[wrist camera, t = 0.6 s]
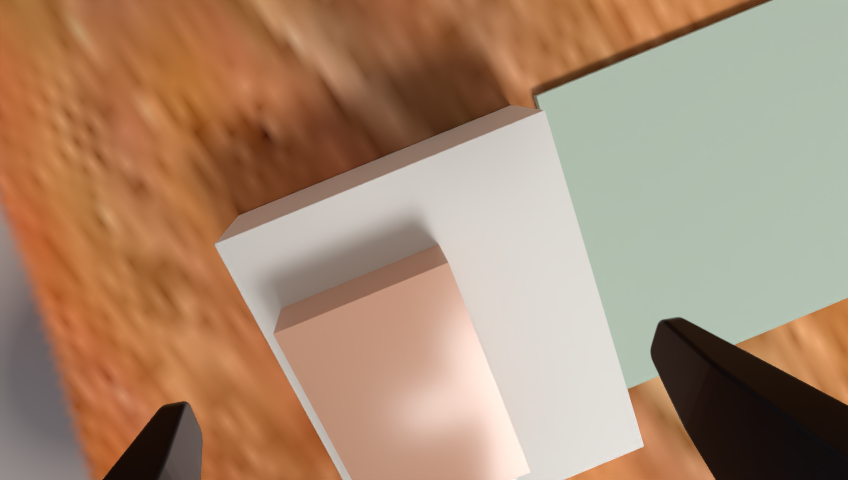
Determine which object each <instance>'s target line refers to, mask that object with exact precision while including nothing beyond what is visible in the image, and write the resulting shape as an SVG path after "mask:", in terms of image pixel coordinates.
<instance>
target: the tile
mask: <svg viewBox="0 0 848 480" xmlns="http://www.w3.org/2000/svg"><path fill="white" fill-rule="evenodd" d="M273 335H274V336H275V338H276V340H277V342H278V344H279V346H280V348H281V349H282V351H283V353H284V355H285V357H286V359H287V361H288V362H289V364H290V366H291V368H292V370H293V372H294V374H295V375H296V377H297V379H298V381H299V383H300V385H301V386H302V388H303V390H304V392H305V394H306V396H307V398H308V399H309V401H310V403H311V405H312V407H313V409H314V411H315V412H316V414H317V416H318V418H319V420H320V422H321V424H322V425H323V427H324V429H325V431H326V433H327V435H328V437H329V438H330V440H331V442H332V444H333V446H334V448H335V449H336V451H337V453H338V455H339V457H340V459H341V461H342V462H343V464H344V466H345V468H346V470H347V472H348V474H349V475H350V477H351V479H352V480H513V479H516V478H518V477H520V476H523V475H525V474H528V473H530V472H531V471H530V469H529V466H528V464H527V461H526V459H525V456H524V454H523V451H522V449H521V446H520V443H519V441H518V438H517V436H516V433H515V431H514V428H513V426H512V423H511V421H510V418H509V415H508V413H507V410H506V408H505V405H504V403H503V400H502V398H501V395H500V392H499V390H498V387H497V385H496V382H495V380H494V377H493V375H492V372H491V370H490V367H489V364H488V362H487V359H486V357H485V354H484V352H483V349H482V347H481V344H480V342H479V339H478V336H477V334H476V331H475V329H474V326H473V324H472V321H471V319H470V316H469V313H468V311H467V308H466V306H465V303H464V301H463V298H462V296H461V293H460V291H459V288H458V285H457V283H456V280H455V278H454V275H453V273H452V270H451V268H450V265H449V263H448V261H447V259H446V257H445V255H444V253H443V251H442V249H441V248H440V246H439V244H437V245H435V246H433V247H430V248H428V249H425V250H423V251H420V252H418V253H415V254H413V255H410V256H408V257H406V258H403V259H401V260H398V261H396V262H393V263H391V264H388V265H386V266H384V267H381V268H379V269H376V270H374V271H371V272H369V273H366V274H364V275H362V276H359V277H357V278H354V279H352V280H349V281H347V282H344V283H342V284H339V285H337V286H335V287H332V288H330V289H327V290H325V291H322V292H320V293H317V294H315V295H313V296H310V297H308V298H305V299H303V300H300V301H298V302H295V303H293V304H291V305H288V306H286V307H283V308H281V311H280V314H279V317H278V320H277V324H276V327H275V330H274V333H273Z"/></svg>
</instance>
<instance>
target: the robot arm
mask: <svg viewBox="0 0 848 480" xmlns="http://www.w3.org/2000/svg"><path fill="white" fill-rule="evenodd" d="M650 354H651V358H652V361H653V363H654V366H655V368H656V370H657V372H658V374H659V376H660V378H661V380H662V382H663V384H664V387H665V389H666V391H667V393H668V395H669V397H670V399H671V401H672V403H673V405H674V407H675V410H676V412H677V414H678V416H679V418H680V420H681V422H682V424H683V426H684V428H685V429H686V431H687V433H688V435H689V436H690V438H691V440H692V441H693V443H694V445H695V446H696V448H697V450H698V451H699V453H700V455H701V456H702V458H703V460H704V461H705V463H706V464H707V466H708V468H709V469H710V471H711V473H712V474H713V476H714V478H715V479H716V480H848V405H846V404H844V403H842V402H840V401H839V400H837V399H835V398H833V397H831V396H829V395H827V394H825V393H824V392H822V391H820V390H818V389H816V388H814V387H812V386H810V385H808V384H807V383H805V382H803V381H801V380H799V379H797V378H795V377H793V376H791V375H790V374H788V373H786V372H784V371H782V370H780V369H778V368H776V367H775V366H773V365H771V364H769V363H767V362H765V361H763V360H761V359H759V358H758V357H756V356H754V355H752V354H750V353H748V352H746V351H744V350H742V349H741V348H739V347H737V346H735V345H733V344H731V343H729V342H727V341H725V340H724V339H722V338H720V337H718V336H716V335H714V334H712V333H710V332H709V331H707V330H705V329H703V328H701V327H699V326H697V325H695V324H693V323H692V322H690V321H688V320H686V319H684V318H681V317H674V318H668V319H663V320H660V321H659V323H658V324H657V327H656V330H655V334H654V337H653V341H652V344H651V348H650ZM202 444H203V440H202V432H201V429H200V426H199V424H198V422H197V419H196V417H195V415H194V413H193V410H192V408H191V406H190V404H189V403H188V402H184V401H183V402H177V403H171V404H166V405H163V406H162V407H161V408H160V409H159V410H158V411H157V412H156V413H155V415H154V416H153V417H152V418H151V420H150V421H149V422H148V423H147V425H146V426H145V427H144V429H143V430H142V431H141V432H140V434H139V435H138V436H137V437H136V439H135V440H134V441H133V442H132V444H131V445H130V446H129V447H128V449H127V450H126V451H125V452H124V454H123V455H122V456H121V457H120V459H119V460H118V461H117V462H116V464H115V465H114V466H113V467H112V469H111V470H110V471H109V472H108V474H107V475H106V476H105V477H104V479H103V480H201V463H202Z"/></svg>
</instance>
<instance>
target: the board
mask: <svg viewBox="0 0 848 480" xmlns="http://www.w3.org/2000/svg"><path fill="white" fill-rule="evenodd" d="M437 244H439V246H440V248H441V249H442V251H443V253H444V255H445V257H446V259H447V261H448V263H449V265H450V268H451V270H452V273H453V275H454V278H455V280H456V283H457V285H458V288H459V291H460V293H461V296H462V298H463V301H464V303H465V306H466V308H467V311H468V313H469V316H470V319H471V321H472V324H473V326H474V329H475V331H476V334H477V336H478V339H479V342H480V344H481V347H482V349H483V352H484V354H485V357H486V359H487V362H488V364H489V367H490V370H491V372H492V375H493V377H494V380H495V382H496V385H497V387H498V390H499V392H500V395H501V398H502V400H503V403H504V405H505V408H506V410H507V413H508V415H509V418H510V421H511V423H512V426H513V428H514V431H515V433H516V436H517V438H518V441H519V443H520V446H521V449H522V451H523V454H524V456H525V459H526V461H527V464H528V466H529V469H530V471H531V472H530V473H528V474H525V475H523V476H520V477H518V478H516V479H513V480H564V479H567V478H569V477H572V476H574V475H576V474H579V473H581V472H584V471H586V470H588V469H591V468H593V467H596V466H598V465H600V464H603V463H605V462H608V461H610V460H612V459H615V458H617V457H620V456H622V455H624V454H627V453H629V452H632V451H634V450H636V449H639V448H641V447H644V445H643V441H642V438H641V434H640V431H639V428H638V424H637V421H636V417H635V414H634V411H633V407H632V404H631V401H630V397H629V394H628V390H627V387H626V384H625V380H624V377H623V373H622V370H621V367H620V363H619V360H618V356H617V353H616V350H615V346H614V343H613V340H612V336H611V333H610V329H609V326H608V323H607V319H606V316H605V312H604V309H603V306H602V302H601V299H600V295H599V292H598V289H597V285H596V282H595V279H594V275H593V272H592V268H591V265H590V262H589V258H588V255H587V251H586V248H585V245H584V241H583V238H582V234H581V231H580V228H579V224H578V221H577V217H576V214H575V211H574V207H573V204H572V201H571V197H570V194H569V190H568V187H567V184H566V180H565V177H564V173H563V170H562V167H561V163H560V160H559V156H558V153H557V150H556V146H555V143H554V140H553V136H552V133H551V129H550V126H549V123H548V119H547V116H546V112H545V110H541V109H534V108H527V107H520V106H513V105H510V106H507V107H505V108H502V109H500V110H497V111H495V112H493V113H490V114H488V115H485V116H483V117H480V118H478V119H475V120H473V121H470V122H468V123H465V124H463V125H460V126H458V127H456V128H453V129H451V130H448V131H446V132H443V133H441V134H438V135H436V136H433V137H431V138H428V139H426V140H423V141H421V142H419V143H416V144H414V145H411V146H409V147H406V148H404V149H401V150H399V151H396V152H394V153H391V154H389V155H386V156H384V157H382V158H379V159H377V160H374V161H372V162H369V163H367V164H364V165H362V166H359V167H357V168H354V169H352V170H350V171H347V172H345V173H342V174H340V175H337V176H335V177H332V178H330V179H327V180H325V181H322V182H320V183H317V184H315V185H313V186H310V187H308V188H305V189H303V190H300V191H298V192H295V193H293V194H290V195H288V196H285V197H283V198H280V199H278V200H276V201H273V202H271V203H268V204H266V205H263V206H261V207H258V208H256V209H253V210H251V211H248V212H246V213H243V214H241V215H239V216H238V217H237V218H236V219H235V220H234V221H233V223H232V224H231V225H230V226H229V227H228V228H227V230H226V231H225V232H224V233H223V234H222V236H221V237H220V238H219V239H218V240H217V241H216V243H215V244H214V245H215V247H216V249H217V251H218V253H219V254H220V256H221V258H222V260H223V262H224V263H225V265H226V267H227V269H228V271H229V273H230V274H231V276H232V278H233V280H234V282H235V284H236V285H237V287H238V289H239V291H240V293H241V295H242V296H243V298H244V300H245V302H246V304H247V306H248V307H249V309H250V311H251V313H252V315H253V316H254V318H255V320H256V322H257V324H258V326H259V327H260V329H261V331H262V333H263V335H264V337H265V338H266V340H267V342H268V344H269V346H270V348H271V349H272V351H273V353H274V355H275V357H276V359H277V360H278V362H279V364H280V366H281V368H282V369H283V371H284V373H285V375H286V377H287V379H288V380H289V382H290V384H291V386H292V388H293V390H294V391H295V393H296V395H297V397H298V399H299V401H300V402H301V404H302V406H303V408H304V410H305V412H306V413H307V415H308V417H309V419H310V421H311V422H312V424H313V426H314V428H315V430H316V432H317V433H318V435H319V437H320V439H321V441H322V443H323V444H324V446H325V448H326V450H327V452H328V454H329V455H330V457H331V459H332V461H333V463H334V465H335V466H336V468H337V470H338V472H339V474H340V475H341V477H342V479H343V480H352V479H351V477H350V475H349V474H348V472H347V470H346V468H345V466H344V464H343V462H342V461H341V459H340V457H339V455H338V453H337V451H336V449H335V448H334V446H333V444H332V442H331V440H330V438H329V437H328V435H327V433H326V431H325V429H324V427H323V425H322V424H321V422H320V420H319V418H318V416H317V414H316V412H315V411H314V409H313V407H312V405H311V403H310V401H309V399H308V398H307V396H306V394H305V392H304V390H303V388H302V386H301V385H300V383H299V381H298V379H297V377H296V375H295V374H294V372H293V370H292V368H291V366H290V364H289V362H288V361H287V359H286V357H285V355H284V353H283V351H282V349H281V348H280V346H279V344H278V342H277V340H276V338H275V336H274V335H273V333H274V330H275V327H276V324H277V320H278V317H279V314H280V311H281V308H283V307H286V306H288V305H291V304H293V303H295V302H298V301H300V300H303V299H305V298H308V297H310V296H313V295H315V294H317V293H320V292H322V291H325V290H327V289H330V288H332V287H335V286H337V285H339V284H342V283H344V282H347V281H349V280H352V279H354V278H357V277H359V276H362V275H364V274H366V273H369V272H371V271H374V270H376V269H379V268H381V267H384V266H386V265H388V264H391V263H393V262H396V261H398V260H401V259H403V258H406V257H408V256H410V255H413V254H415V253H418V252H420V251H423V250H425V249H428V248H430V247H433V246H435V245H437Z"/></svg>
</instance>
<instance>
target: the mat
mask: <svg viewBox="0 0 848 480" xmlns="http://www.w3.org/2000/svg"><path fill="white" fill-rule="evenodd" d="M533 97H534V100H535V103H536V107H537V109H541V110H545V112H546V116H547V119H548V123H549V126H550V129H551V133H552V136H553V140H554V143H555V146H556V150H557V153H558V156H559V160H560V163H561V167H562V170H563V173H564V177H565V180H566V184H567V187H568V190H569V194H570V197H571V201H572V204H573V207H574V211H575V214H576V217H577V221H578V224H579V228H580V231H581V234H582V238H583V241H584V245H585V248H586V251H587V255H588V258H589V262H590V265H591V268H592V272H593V275H594V279H595V282H596V285H597V289H598V292H599V295H600V299H601V302H602V306H603V309H604V312H605V316H606V319H607V323H608V326H609V329H610V333H611V336H612V340H613V343H614V346H615V350H616V353H617V356H618V360H619V363H620V367H621V370H622V373H623V377H624V380H625V384H626V387H627V389H629V388H631V387H634V386H636V385H638V384H641V383H643V382H646V381H648V380H650V379H653V378H655V377H658V376H659V374H658V372H657V370H656V368H655V366H654V363H653V361H652V358H651V354H650V348H651V344H652V341H653V337H654V334H655V330H656V327H657V324H658V323H659V321H660V320H663V319H668V318H674V317H681V318H684V319H686V320H688V321H690V322H692V323H693V324H695V325H697V326H699V327H701V328H703V329H705V330H707V331H709V332H710V333H712V334H714V335H716V336H718V337H720V338H722V339H724V340H725V341H727V342H729V343H731V344H733V345H735V344H737V343H740V342H742V341H744V340H747V339H749V338H752V337H754V336H756V335H759V334H761V333H764V332H766V331H769V330H771V329H773V328H776V327H778V326H781V325H783V324H785V323H788V322H790V321H793V320H795V319H797V318H800V317H802V316H805V315H807V314H810V313H812V312H814V311H817V310H819V309H822V308H824V307H826V306H829V305H831V304H834V303H836V302H838V301H841V300H843V299H846V298H848V0H769V1H766V2H764V3H761V4H759V5H756V6H754V7H751V8H749V9H747V10H744V11H742V12H739V13H737V14H734V15H732V16H729V17H727V18H724V19H722V20H719V21H717V22H715V23H712V24H710V25H707V26H705V27H702V28H700V29H697V30H695V31H692V32H690V33H687V34H685V35H682V36H680V37H678V38H675V39H673V40H670V41H668V42H665V43H663V44H660V45H658V46H655V47H653V48H650V49H648V50H645V51H643V52H641V53H638V54H636V55H633V56H631V57H628V58H626V59H623V60H621V61H618V62H616V63H613V64H611V65H608V66H606V67H604V68H601V69H599V70H596V71H594V72H591V73H589V74H586V75H584V76H581V77H579V78H576V79H574V80H571V81H569V82H567V83H564V84H562V85H559V86H557V87H554V88H552V89H549V90H547V91H544V92H542V93H539V94H537V95H534V96H533Z"/></svg>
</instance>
